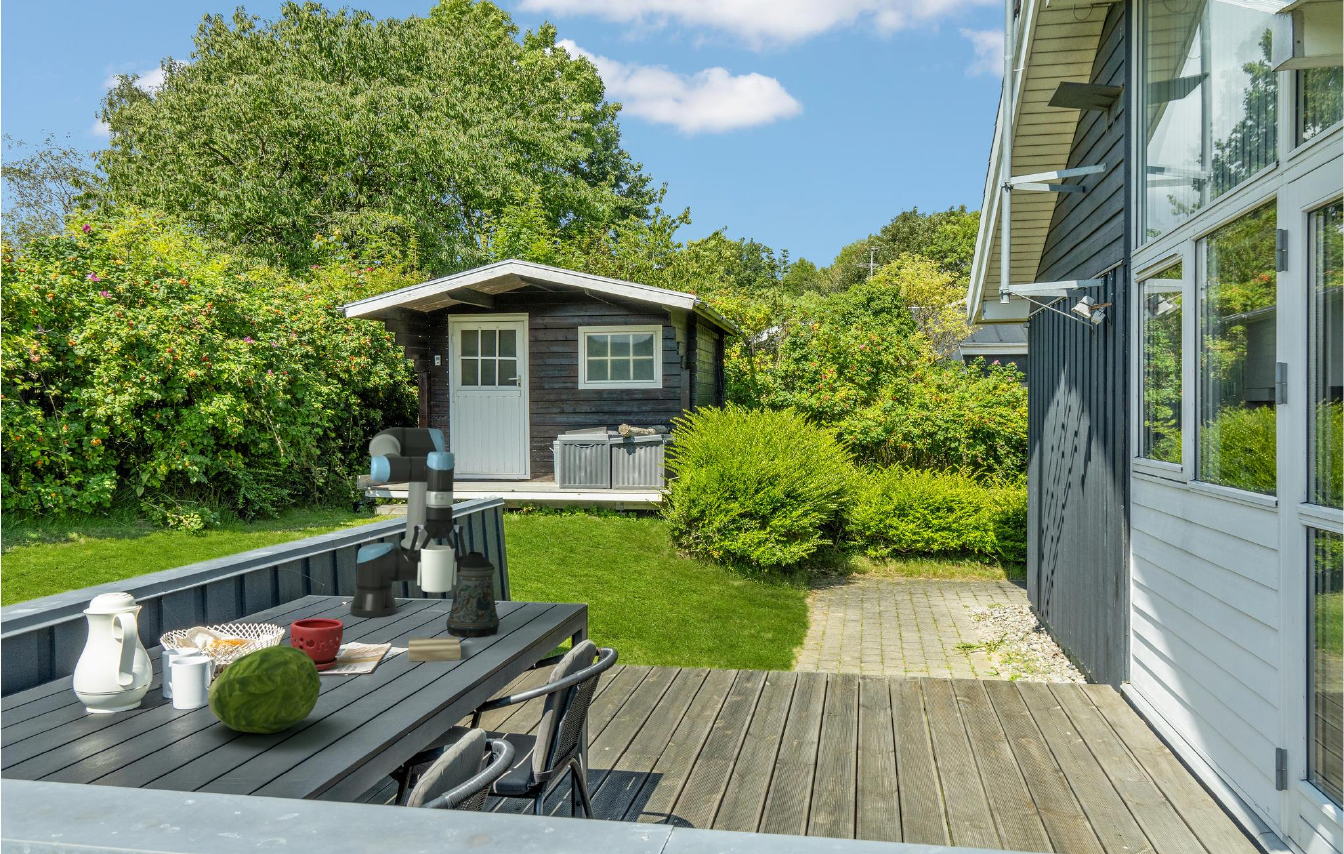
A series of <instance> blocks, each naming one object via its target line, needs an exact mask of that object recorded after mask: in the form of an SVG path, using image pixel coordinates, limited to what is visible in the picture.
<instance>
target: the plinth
mask: <svg viewBox="0 0 1344 854" xmlns="http://www.w3.org/2000/svg"><path fill="white" fill-rule="evenodd" d="M408 651H409V652H408ZM408 651H407V652H408V663H414V662H415V661H417V662H415V663H419V662H418V661H425V662H443V661H442V660H451V661H456V660H455V659H462V647H461V644H460V640H459V637H456V636H453V637H429V638H428V637H427V638H408ZM453 659H454V660H453ZM439 660H441V661H439ZM412 661H414V662H412Z"/></svg>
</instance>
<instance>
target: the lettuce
mask: <svg viewBox="0 0 1344 854" xmlns="http://www.w3.org/2000/svg"><path fill="white" fill-rule="evenodd" d="M320 690H321V679H320V673H319V671H317V668H316V666H315V664H314V661H313V660H312V659H311V657H310V656H309V655H308V654H307V653H305V652H304V651H303V650H301V649H300V648H296V647H292V646H291V645H285V644H277V645H270V646H268V647H264V648H260V649H258V650H255V651H253V652H250V653H248V654H244V655H243V656H240V657H239V658H238V659H235V660H233V661H231V663H230V664H229V665H228V666H227V667H225V668H224V670H223V671H222V672H221V673H220V674H219V675H218V676H217V677H216V678H215V680H214V681H213V682H212V683H211V684H210V688H209V690H208V692H207V704H208V707H209V709H210V712H211V714H212V715H214V717H216V718H217V719H218V720H219V721H221V722H222V723H223V725H225V726H226V727H227V728H230V729H232V730H233V731H238V732H239V731H240V732H245V733H252V732H253V733H254V734H256V733H257V734H263V735H265V734H267V735H270V734H269V733H271V734H274V733H275V734H276V733H279V732H282V731H284V730H286V729H289V728H292V726H294V725H296V724H297V723H299V722H301V721H303V720H305V719H307V718H308V717H309V716H310V714H311V712H313V710H314V708H315V707H316V704H317V701H318V698H319V696H320Z"/></svg>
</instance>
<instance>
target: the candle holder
mask: <svg viewBox="0 0 1344 854" xmlns="http://www.w3.org/2000/svg"><path fill="white" fill-rule="evenodd" d="M455 548H456V547H455ZM455 548H454V549H451V548H450V546H449V545H436V544H435V546H426V548H425V549H421V581H420V586H421V591H423V592H425V593H426V592H427V593H444V592H449V591H452V588H453V587H452V585H453V568H454V561H455V556H454V554H455Z"/></svg>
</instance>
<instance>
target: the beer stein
mask: <svg viewBox="0 0 1344 854" xmlns="http://www.w3.org/2000/svg"><path fill="white" fill-rule="evenodd" d="M495 571H496V567H495V565H494V564H493V563H492V562H490V561H489V560H488V559H487V558H486V557H485V556H484V554H483V552H481V551H469V552H468V553H467V559H465V560H462V561H461V570H460V573H456V585H455V587H454V592H453V599H452V602H451V608H450V611H449V614H448V617H447V620H446V629H447V634H449V635H450V636H453V637H458V638H464V639H465V638H466V639H474V638H475V639H480V638H487V637H491V636H493V635H496V634H498V631H499V627H500V621H501V620H500V618H499V616H498V613H497V606H496V598H495V590H494V588H495V587H494V579H493V575H494V573H495Z"/></svg>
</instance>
